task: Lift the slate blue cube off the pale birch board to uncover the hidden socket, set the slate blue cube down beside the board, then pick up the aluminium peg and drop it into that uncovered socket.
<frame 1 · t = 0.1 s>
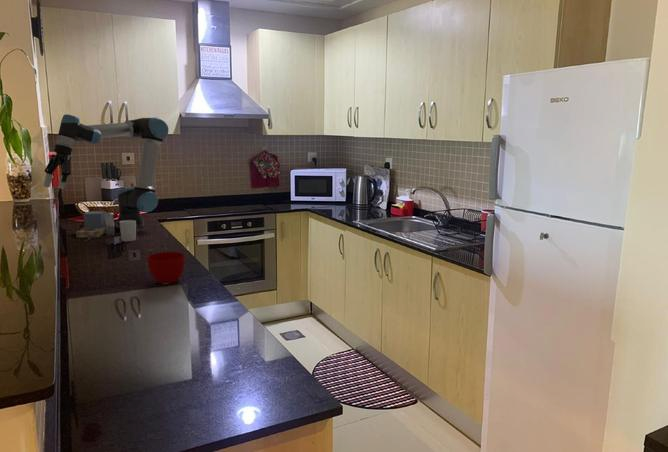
hand: (53, 187, 242), 28 cm above the countertop, tool tilted 20°, fingers open, 13 cm apart
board: (93, 233, 272), on the countertop
white cup: (128, 240, 256), on the countertop
ceramic cup: (164, 281, 185), on the countertop
slate blue cube: (95, 226, 276), point 3 cm above the countertop, touching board
peg: (110, 234, 269), on the countertop
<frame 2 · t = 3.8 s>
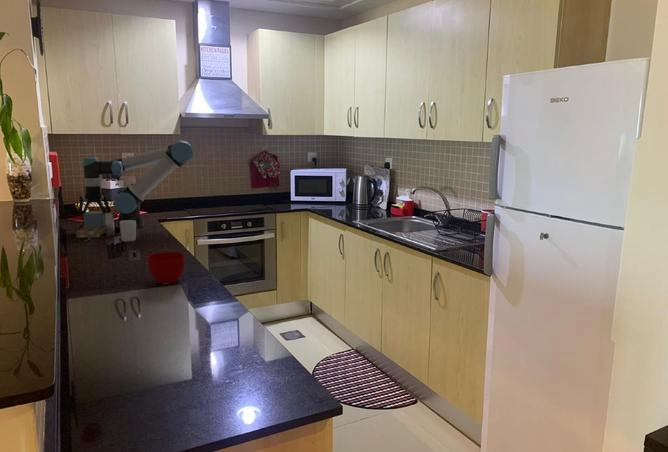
hand: (95, 225, 276), 3 cm above the countertop, tool pointing down, fingers closed on slate blue cube, 9 cm apart
slate blue cube: (95, 226, 276), point 3 cm above the countertop, touching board, gripper
everything else where it was.
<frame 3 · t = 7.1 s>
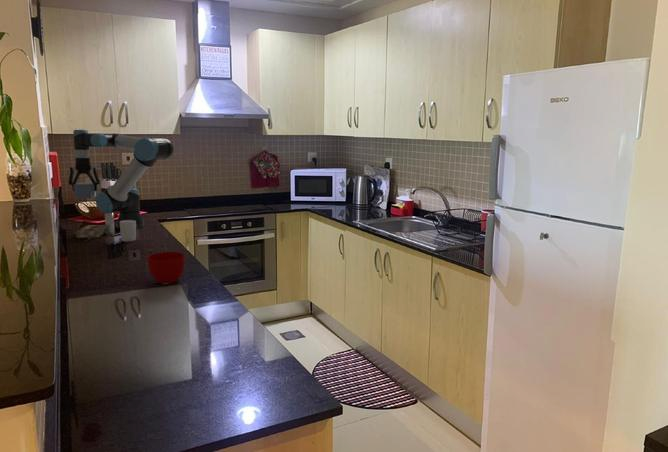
hand: (85, 196, 284), 18 cm above the countertop, tool pointing down, fingers closed on slate blue cube, 9 cm apart
slate blue cube: (85, 197, 284), point 18 cm above the countertop, touching gripper
everything else where it was.
when the fingers open (1 cm above the countertop, at t = 10.5 s): slate blue cube drops 1 cm, on the countertop.
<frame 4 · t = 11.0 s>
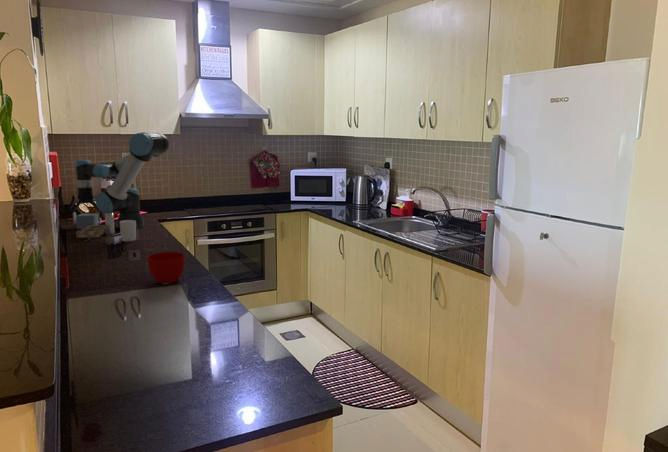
hand: (87, 223, 287), 3 cm above the countertop, tool pointing down, fingers open, 13 cm apart
slate blue cube: (88, 228, 288), on the countertop
everything else where it was.
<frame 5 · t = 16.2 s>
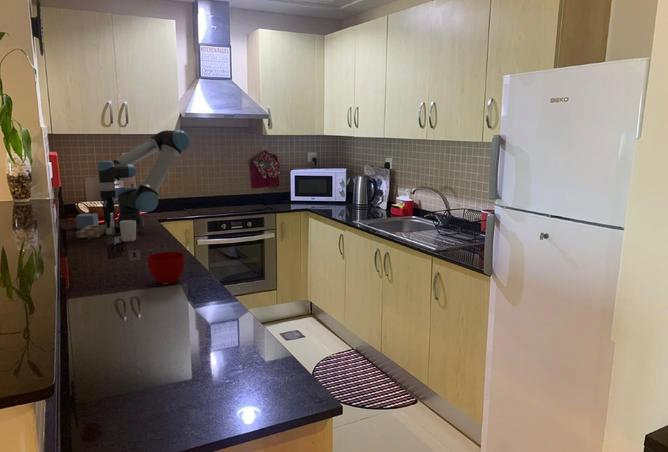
hand: (110, 232, 269), 1 cm above the countertop, tool pointing down, fingers closed on peg, 4 cm apart
peg: (110, 234, 269), on the countertop, touching gripper
everything else where it was.
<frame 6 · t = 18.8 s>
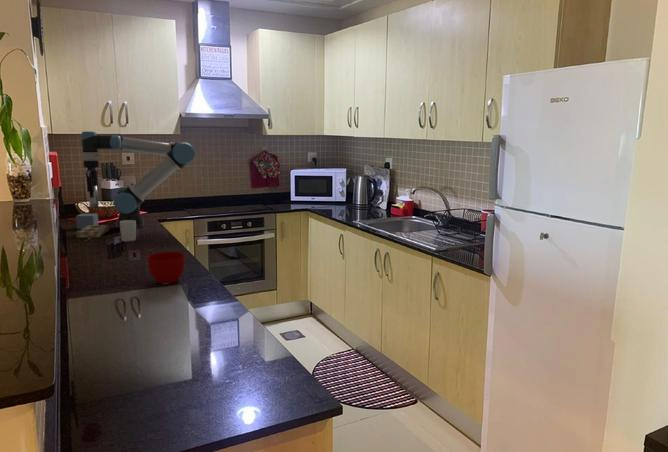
hand: (94, 202, 273), 17 cm above the countertop, tool pointing down, fingers closed on peg, 4 cm apart
peg: (94, 207, 274), point 14 cm above the countertop, touching gripper
everything else where it was.
when the fingers open (4 cm above the countertop, at t = 21.3 s): peg drops 1 cm, resting in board.
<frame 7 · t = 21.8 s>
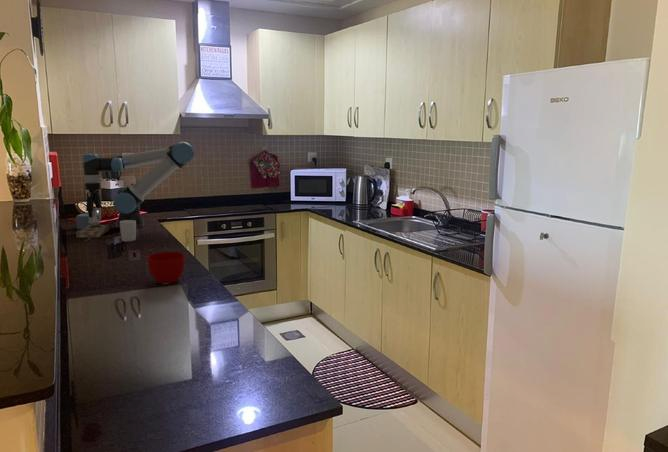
hand: (95, 221, 275), 6 cm above the countertop, tool pointing down, fingers open, 12 cm apart
peg: (96, 232, 276), resting in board
everything else where it was.
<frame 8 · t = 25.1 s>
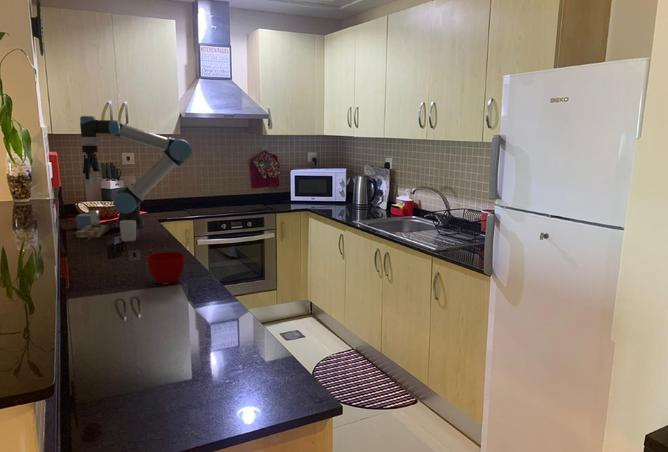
hand: (92, 184, 272), 27 cm above the countertop, tool pointing down, fingers open, 13 cm apart
nothing on the countertop moved.
at the end: peg 0.1 cm from the target spot on the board, point 0.0 cm above the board's base; peg tilted 0°; slate blue cube moved 15.5 cm from its start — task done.
